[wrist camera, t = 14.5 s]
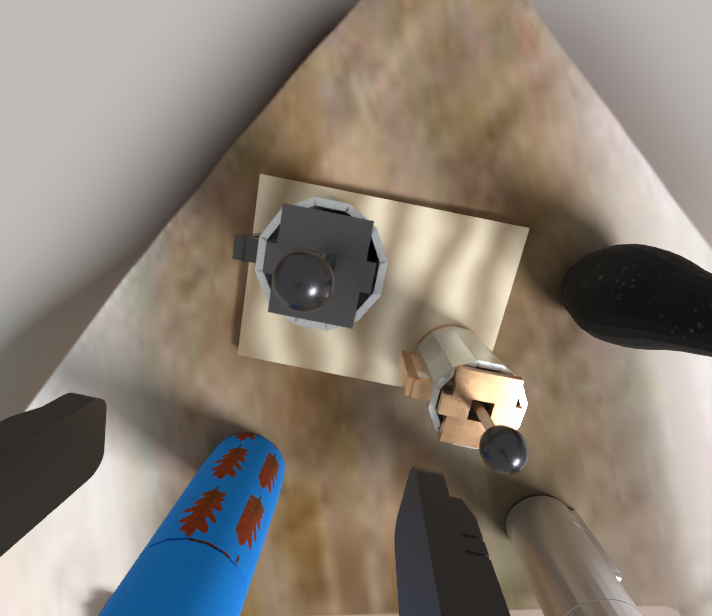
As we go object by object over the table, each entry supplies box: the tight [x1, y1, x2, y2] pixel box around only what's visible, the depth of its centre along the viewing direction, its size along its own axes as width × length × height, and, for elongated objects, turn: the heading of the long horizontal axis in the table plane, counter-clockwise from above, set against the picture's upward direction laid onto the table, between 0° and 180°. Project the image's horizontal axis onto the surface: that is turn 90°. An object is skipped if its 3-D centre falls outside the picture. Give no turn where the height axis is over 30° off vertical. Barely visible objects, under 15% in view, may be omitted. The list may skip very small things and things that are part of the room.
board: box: [238, 174, 530, 387], centre depth 43 cm, size 31×22×2 cm
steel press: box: [233, 197, 388, 331], centre depth 34 cm, size 13×10×15 cm
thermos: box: [98, 433, 285, 616], centre depth 38 cm, size 11×11×25 cm
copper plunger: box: [439, 367, 529, 475], centre depth 32 cm, size 6×6×15 cm
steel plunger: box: [272, 250, 369, 313], centre depth 27 cm, size 8×8×17 cm
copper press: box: [398, 325, 527, 449], centre depth 38 cm, size 11×9×13 cm
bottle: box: [562, 244, 712, 357], centre depth 28 cm, size 11×11×30 cm
